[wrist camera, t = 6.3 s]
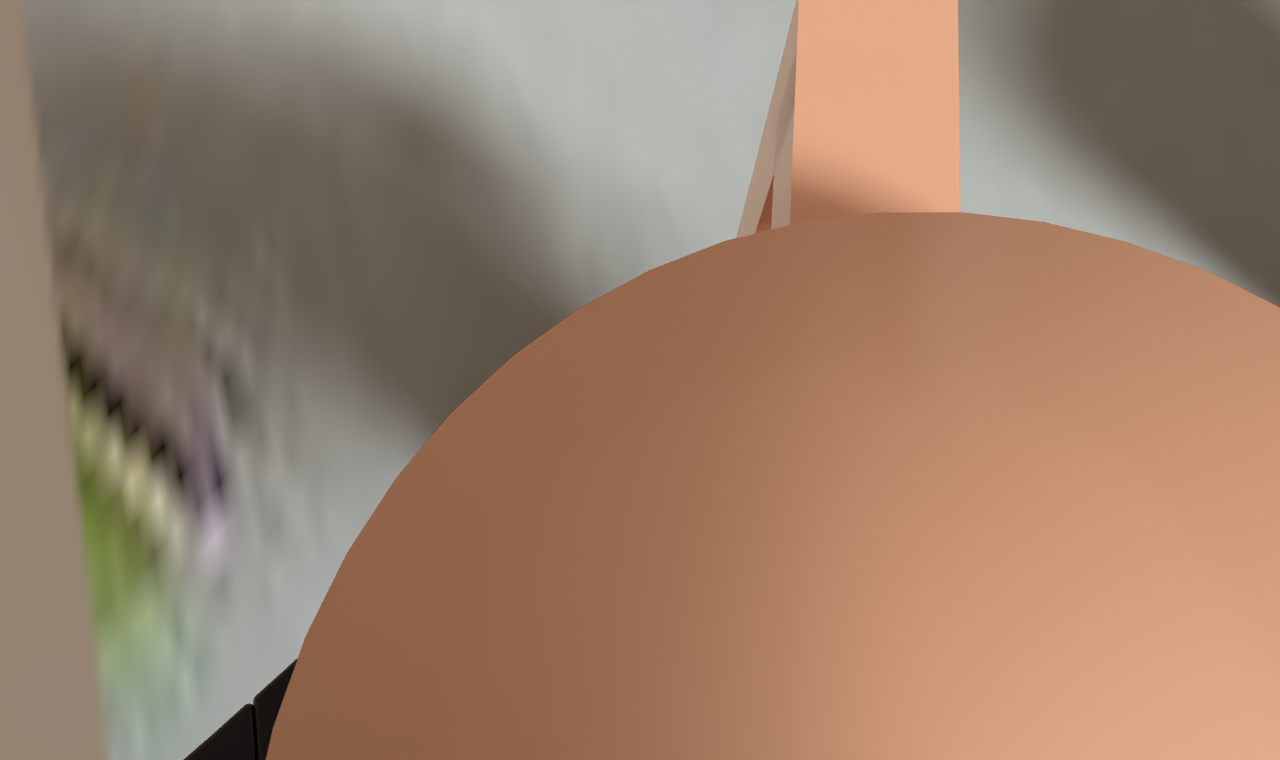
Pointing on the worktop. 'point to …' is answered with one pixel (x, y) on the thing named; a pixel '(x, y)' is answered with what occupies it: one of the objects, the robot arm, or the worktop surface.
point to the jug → (837, 484)
